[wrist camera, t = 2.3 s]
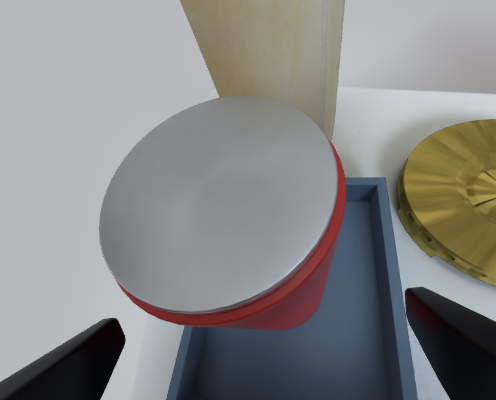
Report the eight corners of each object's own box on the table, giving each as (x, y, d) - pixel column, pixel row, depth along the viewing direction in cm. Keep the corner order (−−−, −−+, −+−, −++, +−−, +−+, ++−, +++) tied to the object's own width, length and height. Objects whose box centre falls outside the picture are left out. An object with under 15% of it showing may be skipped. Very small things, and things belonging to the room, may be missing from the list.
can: (324, 338, 14) (359, 363, 3) (227, 321, 16) (42, 298, 5) (324, 239, 17) (343, 77, 6) (242, 234, 19) (145, 101, 8)
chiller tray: (406, 467, 11) (433, 507, 9) (188, 401, 15) (161, 416, 12) (375, 199, 18) (385, 177, 16) (232, 196, 22) (220, 178, 19)
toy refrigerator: (265, 120, 26) (159, -344, 8) (334, 122, 23) (402, -553, 5) (244, 179, 22) (-15, -386, 5) (322, 188, 20) (388, -958, 2)
